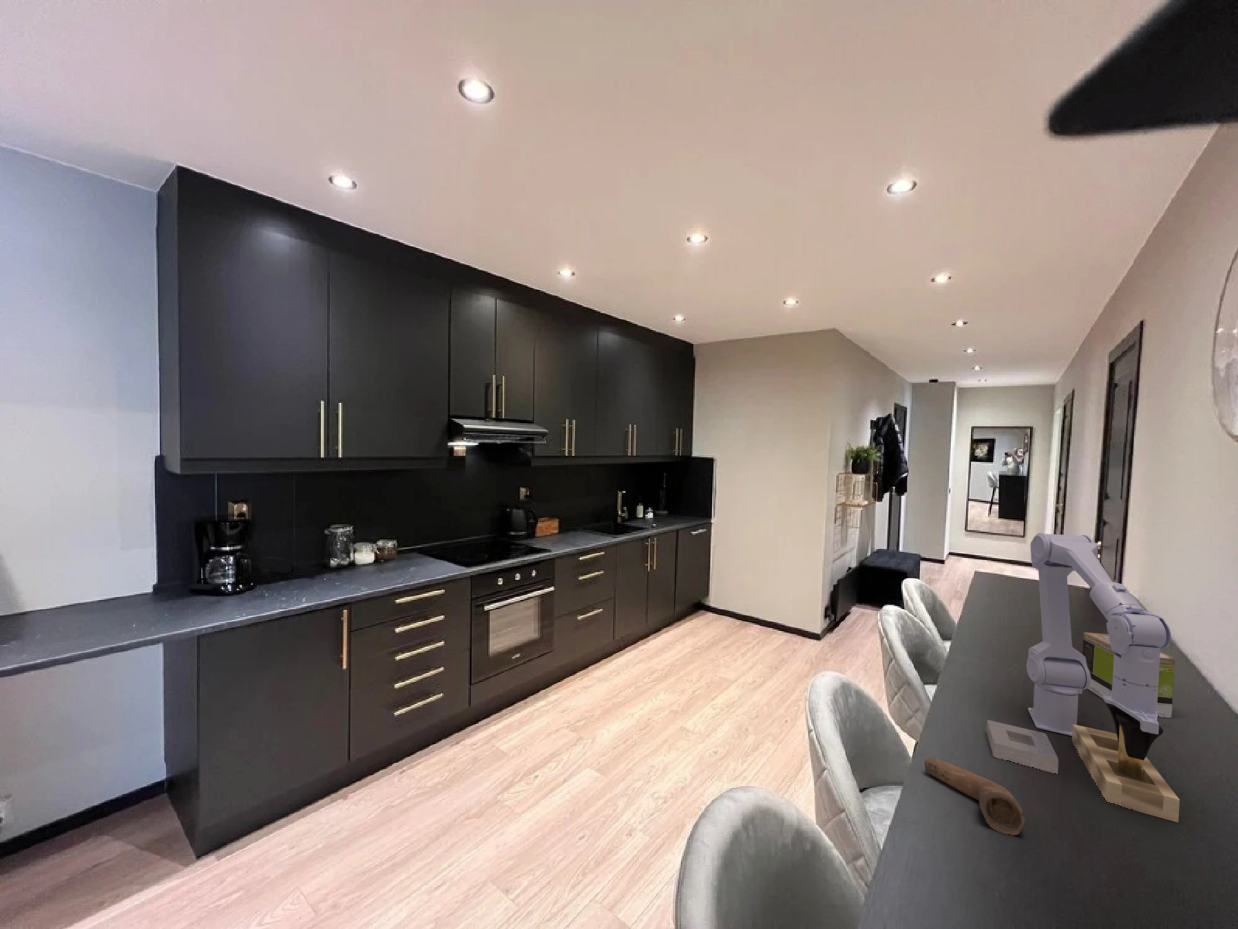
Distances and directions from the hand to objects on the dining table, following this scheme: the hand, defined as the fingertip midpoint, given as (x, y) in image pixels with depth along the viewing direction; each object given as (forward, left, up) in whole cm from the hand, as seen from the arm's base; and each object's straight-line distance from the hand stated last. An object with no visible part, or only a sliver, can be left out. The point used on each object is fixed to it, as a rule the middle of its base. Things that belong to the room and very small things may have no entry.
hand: (1131, 752), depth 90 cm
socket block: (-5, -15, -8) cm, 18 cm away
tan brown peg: (0, 0, -4) cm, 4 cm away
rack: (-5, 0, -8) cm, 9 cm away
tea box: (-46, +12, -8) cm, 48 cm away
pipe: (+18, -26, -8) cm, 32 cm away
